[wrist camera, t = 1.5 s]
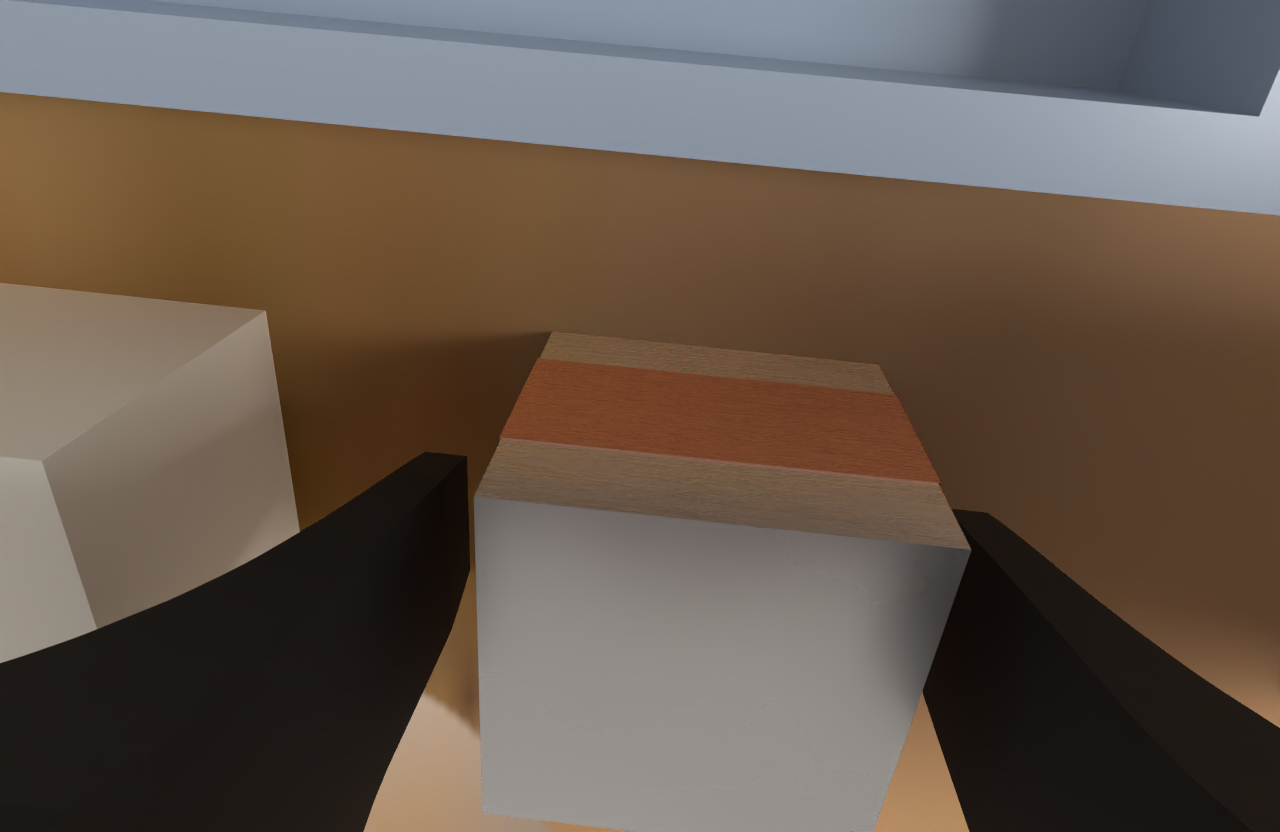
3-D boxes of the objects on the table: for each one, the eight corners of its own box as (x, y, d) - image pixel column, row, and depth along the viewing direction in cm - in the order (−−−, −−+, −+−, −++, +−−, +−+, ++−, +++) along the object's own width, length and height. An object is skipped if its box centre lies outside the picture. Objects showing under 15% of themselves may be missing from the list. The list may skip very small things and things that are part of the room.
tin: (879, 360, 11) (974, 548, 7) (817, 611, 14) (865, 860, 10) (552, 327, 11) (470, 494, 7) (545, 581, 14) (480, 813, 10)
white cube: (268, 308, 12) (42, 460, 8) (304, 547, 14) (141, 764, 10) (-21, 278, 12) (-391, 413, 8) (59, 519, 14) (-201, 722, 10)
